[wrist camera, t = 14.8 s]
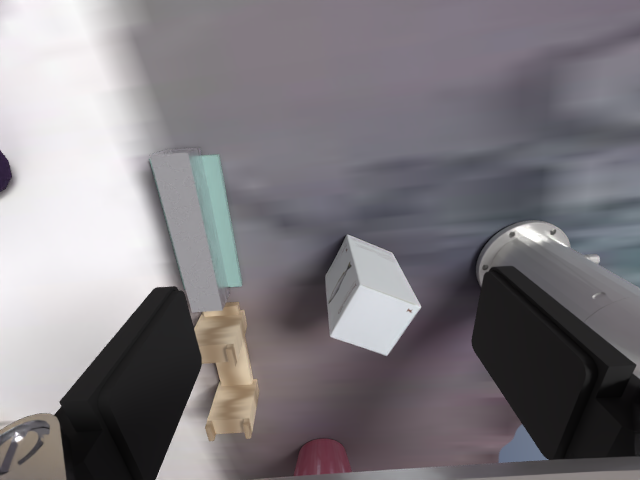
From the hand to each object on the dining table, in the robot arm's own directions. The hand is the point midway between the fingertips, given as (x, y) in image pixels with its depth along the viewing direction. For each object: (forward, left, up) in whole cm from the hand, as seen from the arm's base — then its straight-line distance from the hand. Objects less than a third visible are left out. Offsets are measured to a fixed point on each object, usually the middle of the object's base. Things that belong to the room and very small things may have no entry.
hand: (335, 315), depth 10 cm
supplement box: (-5, +15, -31) cm, 34 cm away
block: (+15, +8, -30) cm, 34 cm away
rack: (+15, +30, -30) cm, 45 cm away
